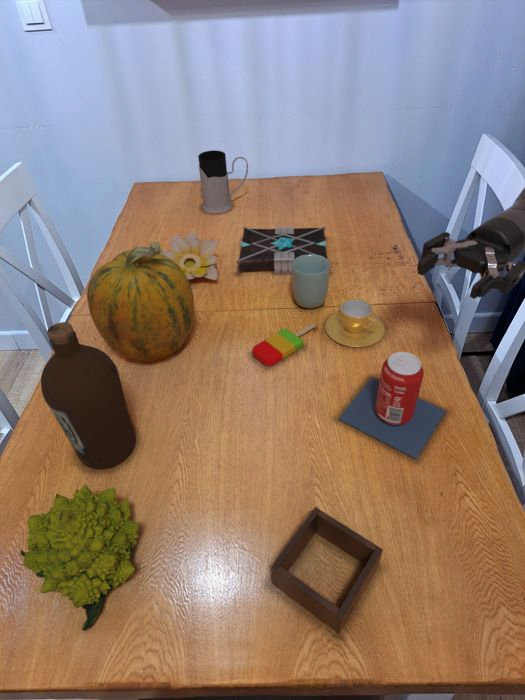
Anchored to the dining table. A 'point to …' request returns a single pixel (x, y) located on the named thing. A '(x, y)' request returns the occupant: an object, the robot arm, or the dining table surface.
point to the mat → (399, 437)
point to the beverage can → (399, 388)
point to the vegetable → (83, 547)
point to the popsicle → (279, 346)
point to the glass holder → (216, 181)
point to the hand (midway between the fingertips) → (445, 280)
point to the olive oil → (87, 400)
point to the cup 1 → (310, 280)
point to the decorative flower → (193, 256)
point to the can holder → (341, 539)
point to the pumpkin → (142, 303)
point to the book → (279, 247)
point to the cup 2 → (355, 324)
